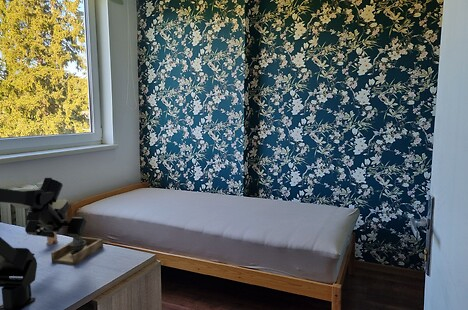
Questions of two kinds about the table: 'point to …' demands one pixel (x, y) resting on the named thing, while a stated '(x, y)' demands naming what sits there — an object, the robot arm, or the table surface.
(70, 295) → the table surface
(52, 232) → the robot arm
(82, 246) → the grey tiered stone figure
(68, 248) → the open-ended wooden tray
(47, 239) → the grandmother figurine
